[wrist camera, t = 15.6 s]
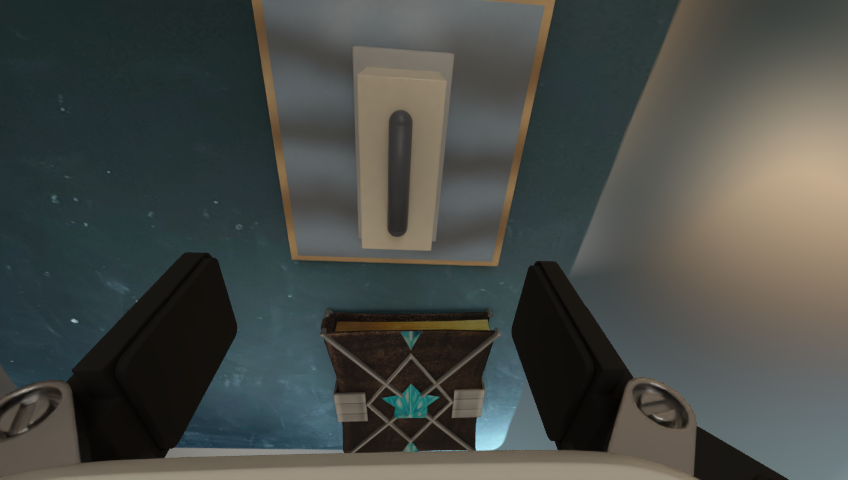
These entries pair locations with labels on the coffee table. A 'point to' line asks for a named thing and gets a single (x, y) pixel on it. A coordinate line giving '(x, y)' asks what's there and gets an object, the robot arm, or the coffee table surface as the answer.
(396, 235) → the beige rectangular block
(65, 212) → the coffee table surface
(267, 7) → the board
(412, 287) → the coffee table surface
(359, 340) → the book
